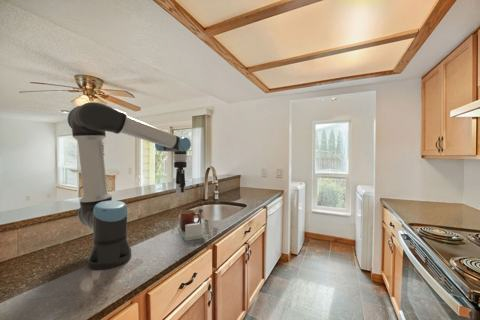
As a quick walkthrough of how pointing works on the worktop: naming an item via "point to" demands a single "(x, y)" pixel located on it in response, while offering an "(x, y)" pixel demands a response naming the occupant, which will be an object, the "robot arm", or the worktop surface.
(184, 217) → the mug
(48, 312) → the worktop surface
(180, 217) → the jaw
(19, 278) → the worktop surface
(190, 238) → the vise
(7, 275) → the worktop surface
